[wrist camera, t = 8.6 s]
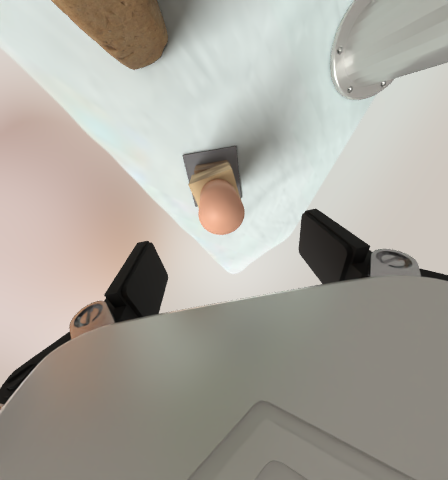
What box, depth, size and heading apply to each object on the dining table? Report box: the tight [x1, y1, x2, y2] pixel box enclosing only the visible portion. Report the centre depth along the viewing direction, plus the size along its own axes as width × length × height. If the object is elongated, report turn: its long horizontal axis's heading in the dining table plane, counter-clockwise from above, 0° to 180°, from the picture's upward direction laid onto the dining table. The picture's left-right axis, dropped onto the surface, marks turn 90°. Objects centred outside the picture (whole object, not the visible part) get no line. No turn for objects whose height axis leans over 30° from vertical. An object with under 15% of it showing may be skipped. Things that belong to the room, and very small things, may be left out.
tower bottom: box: [194, 160, 231, 174], centre depth 31 cm, size 6×6×6 cm
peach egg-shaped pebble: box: [199, 179, 244, 235], centre depth 21 cm, size 5×5×6 cm
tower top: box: [189, 162, 241, 207], centre depth 26 cm, size 6×6×6 cm
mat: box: [183, 146, 241, 207], centre depth 34 cm, size 10×10×1 cm
